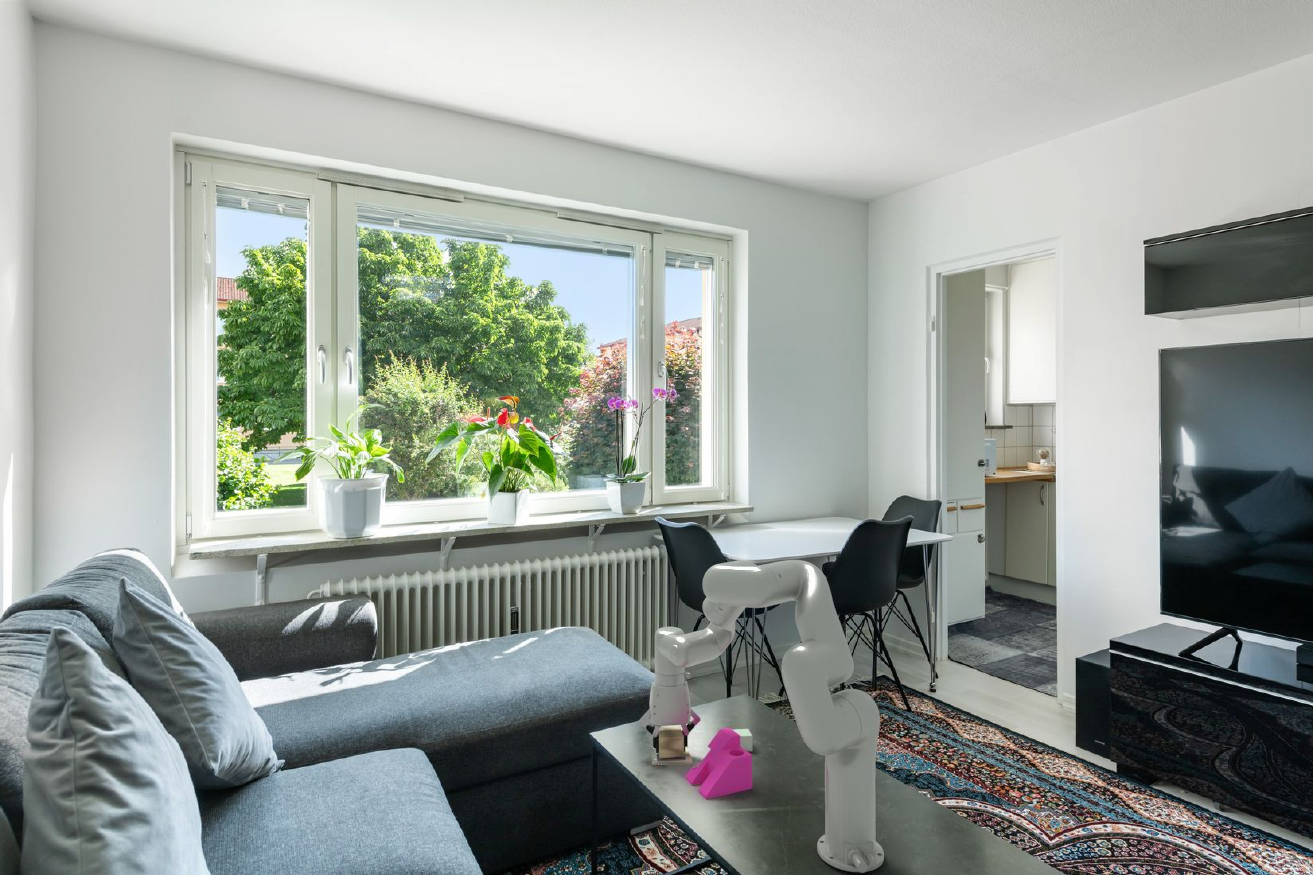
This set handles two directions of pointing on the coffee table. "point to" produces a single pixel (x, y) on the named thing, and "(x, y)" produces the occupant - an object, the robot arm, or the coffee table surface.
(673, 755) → the oak block
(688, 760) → the birch board
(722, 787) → the bracket
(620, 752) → the coffee table surface
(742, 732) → the sage cube
